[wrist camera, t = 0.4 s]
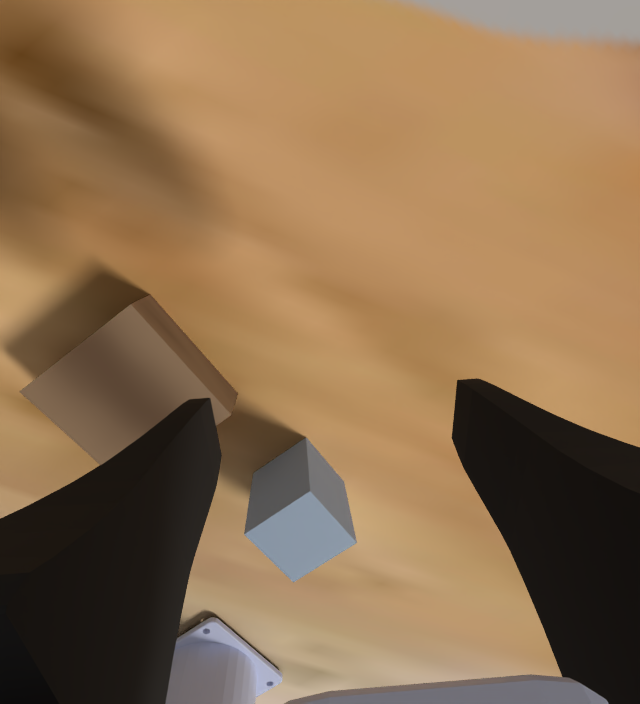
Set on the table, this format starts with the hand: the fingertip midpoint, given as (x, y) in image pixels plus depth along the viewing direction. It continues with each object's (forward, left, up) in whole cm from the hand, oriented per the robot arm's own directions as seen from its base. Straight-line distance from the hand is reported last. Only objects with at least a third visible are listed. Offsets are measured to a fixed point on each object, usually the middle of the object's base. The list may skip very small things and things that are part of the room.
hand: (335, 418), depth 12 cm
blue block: (-6, -7, -10) cm, 14 cm away
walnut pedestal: (-9, +3, -11) cm, 14 cm away
